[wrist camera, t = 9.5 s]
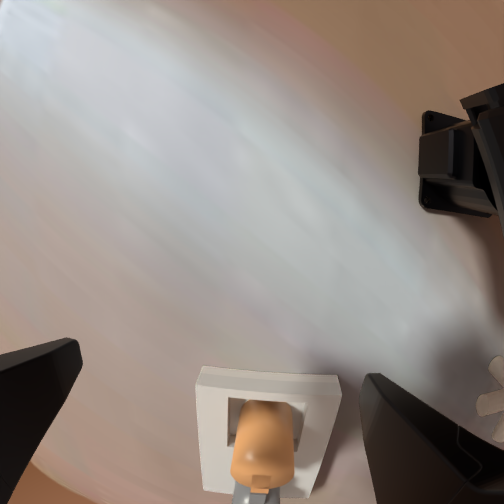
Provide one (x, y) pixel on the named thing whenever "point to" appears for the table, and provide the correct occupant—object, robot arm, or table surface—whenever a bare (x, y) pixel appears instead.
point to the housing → (267, 389)
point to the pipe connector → (494, 399)
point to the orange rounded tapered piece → (264, 446)
